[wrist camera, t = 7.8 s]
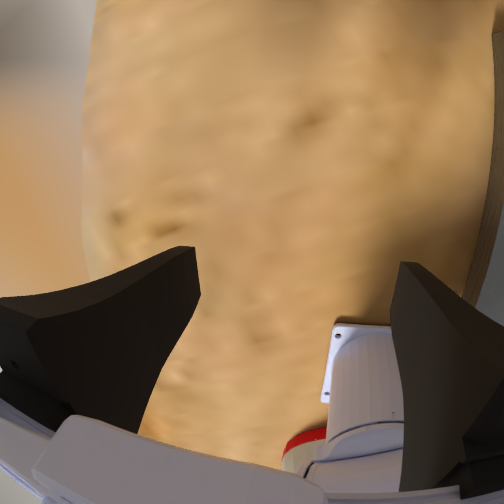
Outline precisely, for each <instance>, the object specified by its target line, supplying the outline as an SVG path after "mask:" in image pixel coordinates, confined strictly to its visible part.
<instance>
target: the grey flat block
mask: <svg viewBox="0 0 504 504" xmlns="http://www.w3.org/2000/svg"><path fill="white" fill-rule="evenodd" d="M492 44H493V56H494V76H495V114H494V135H493V148H492V158H491V167H490V175H489V183H488V189H487V196H486V202H485V207H484V213H483V218H482V223H481V228H480V232H479V237H478V241H477V245H476V249H475V253H474V257H473V261H472V265H471V269H470V272H469V276H468V279H467V282H466V286H465V289H464V292H463V295H462V299H464V300H465V301H466V302H468V303H469V304H470V305H471V306H473V307H474V308H476V309H477V310H478V311H480V312H481V313H483V314H484V315H486V316H488V317H489V318H491V319H492V320H494V321H495V322H497V323H499V324H500V325H502V326H504V31H501V32H498V33H495V34H492Z"/></svg>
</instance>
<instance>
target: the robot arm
mask: <svg viewBox="0 0 504 504" xmlns="http://www.w3.org/2000/svg"><path fill="white" fill-rule="evenodd" d="M200 296H201V292H200V284H199V276H198V269H197V261H196V252H195V247H189V246H177V247H174V248H171V249H169V250H166V251H164V252H162V253H159V254H157V255H155V256H153V257H151V258H148V259H146V260H144V261H142V262H140V263H138V264H135V265H133V266H131V267H128V268H126V269H124V270H121V271H119V272H117V273H114V274H112V275H109V276H107V277H104V278H101V279H99V280H96V281H93V282H90V283H86V284H83V285H79V286H75V287H71V288H68V289H64V290H60V291H54V292H49V293H43V294H36V295H29V296H17V297H2V298H0V366H1V368H2V370H3V371H2V372H1V373H0V468H1V469H2V470H3V471H5V472H6V473H7V474H8V475H9V476H11V477H12V478H13V479H14V480H16V481H17V482H18V483H20V484H21V485H22V486H23V487H25V488H26V489H27V490H29V491H30V492H32V493H33V494H34V495H36V496H37V497H38V498H40V499H41V500H43V502H42V504H504V326H502V325H500V324H499V323H497V322H495V321H494V320H492V319H491V318H489V317H488V316H486V315H484V314H483V313H481V312H480V311H478V310H477V309H476V308H474V307H473V306H471V305H470V304H469V303H468V302H466V301H465V300H464V299H462V298H461V297H460V296H458V295H457V294H456V293H455V292H453V291H452V290H451V289H450V288H449V287H447V286H446V285H445V284H444V283H443V282H441V281H440V280H439V279H438V278H437V277H435V276H434V275H433V274H432V273H431V272H429V271H428V270H427V269H426V268H424V267H423V266H422V265H420V264H418V263H414V262H401V263H400V268H399V272H398V277H397V282H396V287H395V291H394V295H393V300H392V304H391V308H390V321H391V326H374V325H358V324H344V323H337V324H335V325H334V326H333V329H332V336H331V342H330V348H329V354H328V360H327V366H326V371H325V377H324V382H323V387H322V393H321V398H320V400H321V402H323V403H329V411H328V422H327V432H326V441H325V444H323V445H318V446H316V450H315V457H314V460H308V461H305V462H303V463H302V464H301V465H300V467H299V468H298V469H297V471H296V472H295V473H292V472H287V471H282V470H278V469H274V468H270V467H266V466H262V465H258V464H253V463H247V462H241V461H236V460H231V459H226V458H221V457H216V456H212V455H208V454H203V453H199V452H195V451H191V450H187V449H184V448H180V447H176V446H173V445H169V444H166V443H163V442H159V441H156V440H153V439H150V438H147V437H144V436H141V435H138V434H137V433H138V430H139V427H140V424H141V421H142V418H143V415H144V412H145V409H146V406H147V404H148V401H149V398H150V396H151V393H152V391H153V388H154V386H155V383H156V381H157V379H158V376H159V374H160V372H161V369H162V368H163V366H164V364H165V362H166V360H167V358H168V357H169V355H170V353H171V351H172V350H173V348H174V346H175V345H176V343H177V341H178V340H179V338H180V336H181V335H182V333H183V331H184V330H185V328H186V326H187V325H188V323H189V321H190V319H191V318H192V316H193V313H194V311H195V309H196V306H197V304H198V301H199V298H200ZM336 334H341V335H336Z"/></svg>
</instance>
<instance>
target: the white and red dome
mask: <svg viewBox="0 0 504 504" xmlns="http://www.w3.org/2000/svg"><path fill="white" fill-rule="evenodd" d="M326 432H327V427H323V428H319V429H314V430H310V431H307V432H304V433H302V434H300V435H297V436H295V437H294V438H293V439H292V440H290V441H289V442H288V443H287V445H286V447H285V449H284V453H283V457H282V464H281V470H282V471H287V472H292V473H295V472H296V471H297V469H298V468H299V467H300V465H301V464H302V463H303V462H305V461H308V460H314V457H315V450H316V446H318V445H323V444H325V441H326Z"/></svg>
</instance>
